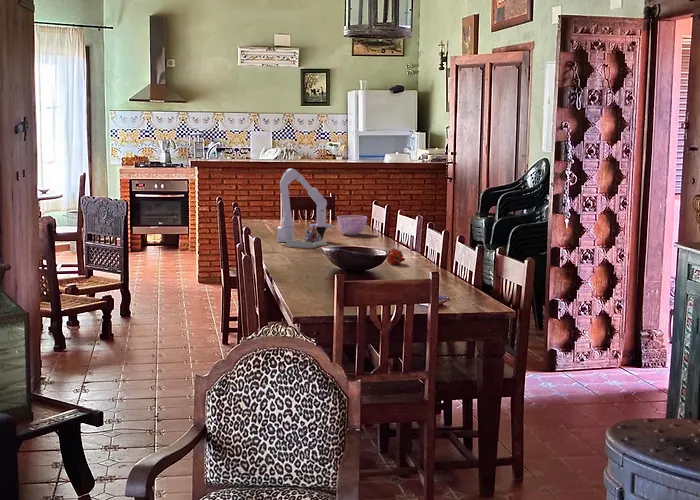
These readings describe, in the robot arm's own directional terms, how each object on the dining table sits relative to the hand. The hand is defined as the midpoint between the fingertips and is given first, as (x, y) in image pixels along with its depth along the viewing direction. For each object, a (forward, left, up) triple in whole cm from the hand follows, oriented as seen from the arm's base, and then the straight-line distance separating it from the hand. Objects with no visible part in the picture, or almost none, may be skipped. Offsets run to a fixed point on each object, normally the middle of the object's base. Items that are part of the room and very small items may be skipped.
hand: (321, 239), depth 520 cm
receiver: (0, -23, -1) cm, 23 cm away
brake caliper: (-1, -10, -1) cm, 10 cm away
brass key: (-11, -26, -1) cm, 28 cm away
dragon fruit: (+69, -62, -1) cm, 93 cm away
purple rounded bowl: (+5, +38, -1) cm, 38 cm away
